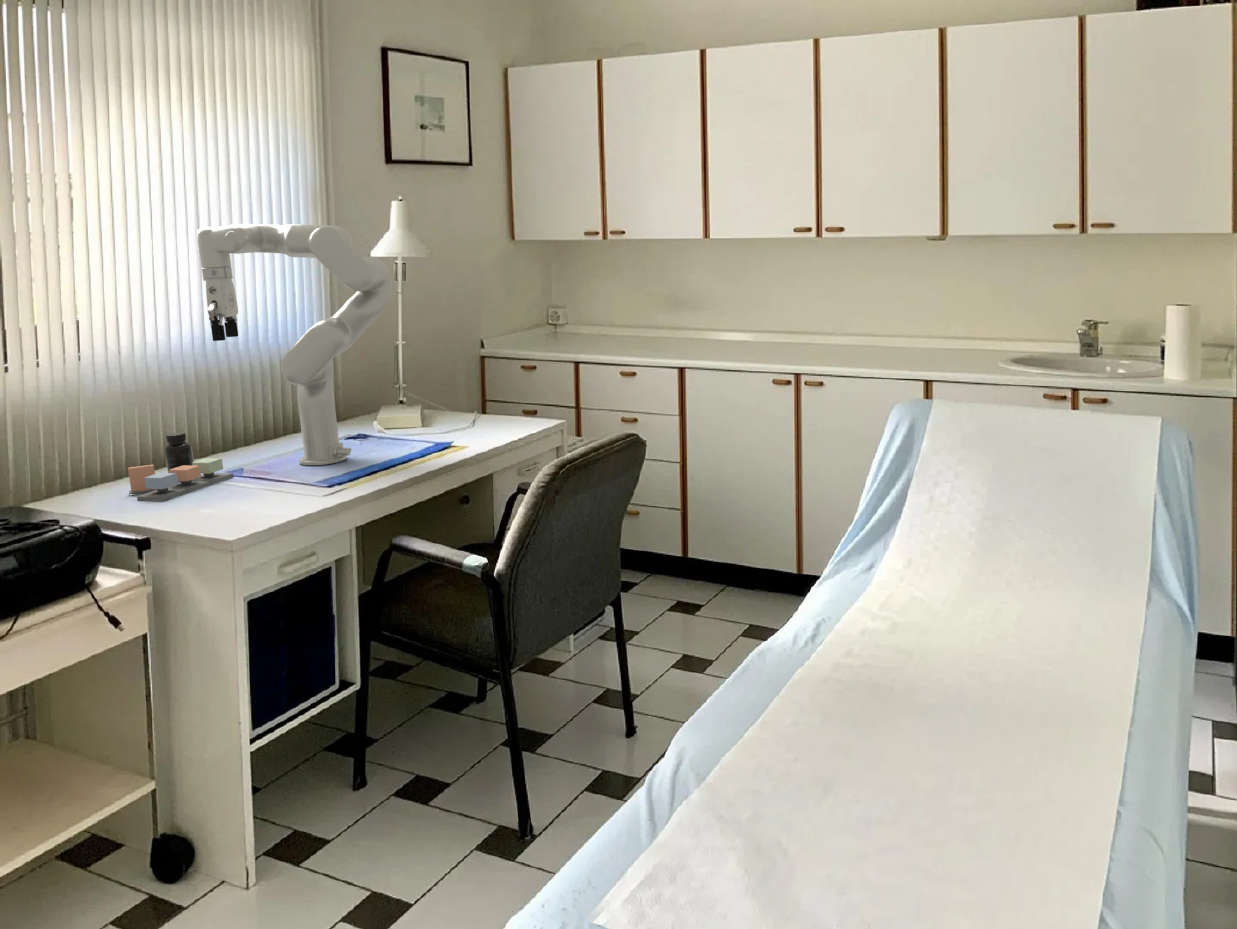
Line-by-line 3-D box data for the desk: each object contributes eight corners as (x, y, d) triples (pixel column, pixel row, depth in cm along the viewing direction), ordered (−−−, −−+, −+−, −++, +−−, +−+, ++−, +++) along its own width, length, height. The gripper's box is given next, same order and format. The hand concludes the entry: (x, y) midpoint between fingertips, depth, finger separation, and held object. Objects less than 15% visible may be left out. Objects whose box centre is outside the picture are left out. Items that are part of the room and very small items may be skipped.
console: (233, 476, 306) (233, 473, 305) (163, 501, 282) (163, 497, 282) (208, 476, 308) (208, 472, 308) (137, 500, 285) (136, 496, 284)
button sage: (223, 472, 304) (221, 458, 303) (210, 477, 299) (208, 462, 298) (207, 472, 306) (205, 458, 305) (193, 477, 301) (191, 462, 300)
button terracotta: (201, 480, 296) (199, 465, 295) (187, 485, 291) (185, 470, 291) (185, 479, 298) (183, 465, 297) (170, 484, 293) (168, 469, 292)
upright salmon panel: (129, 492, 294) (125, 467, 293) (159, 488, 297) (155, 463, 295) (129, 495, 291) (125, 469, 289) (159, 491, 293) (155, 465, 292)
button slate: (178, 488, 288) (176, 473, 288) (163, 493, 284) (161, 477, 283) (161, 487, 290) (159, 472, 289) (146, 492, 286) (144, 477, 285)
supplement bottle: (185, 474, 312) (179, 430, 310) (201, 476, 309) (195, 432, 306) (163, 480, 307) (156, 435, 304) (179, 482, 303) (172, 436, 301)
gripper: (219, 275, 302) (228, 341, 306) (242, 271, 319) (250, 334, 323) (190, 276, 302) (199, 342, 306) (215, 273, 319) (223, 336, 323)
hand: (225, 338), depth 314 cm, fingers open, 9 cm apart
